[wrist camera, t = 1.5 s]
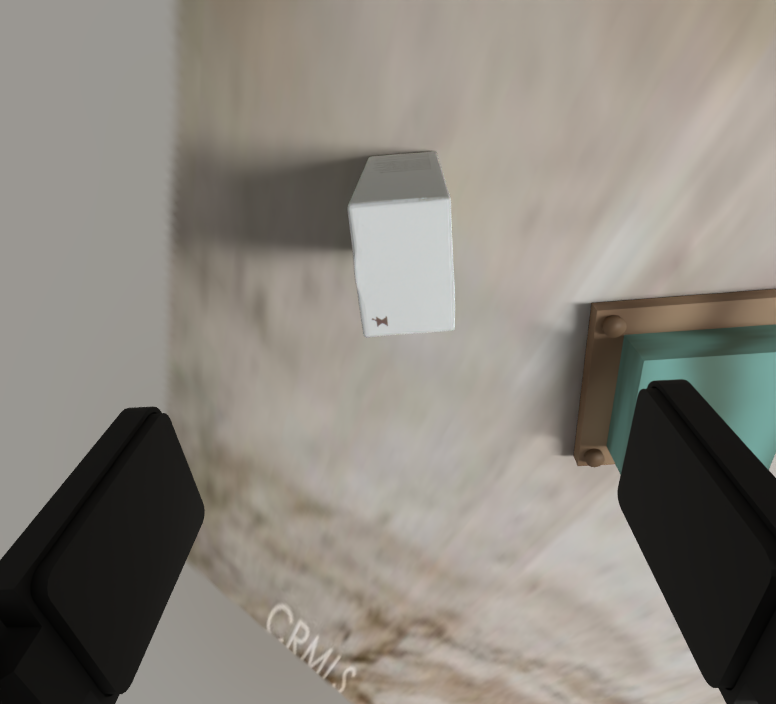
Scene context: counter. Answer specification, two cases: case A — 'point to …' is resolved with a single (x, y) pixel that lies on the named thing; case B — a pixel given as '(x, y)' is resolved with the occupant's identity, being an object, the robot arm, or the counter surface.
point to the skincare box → (403, 245)
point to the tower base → (647, 321)
